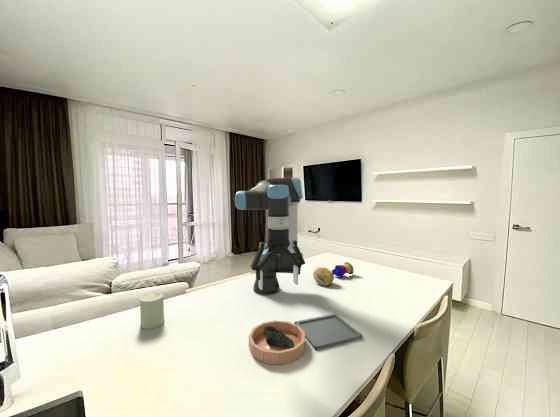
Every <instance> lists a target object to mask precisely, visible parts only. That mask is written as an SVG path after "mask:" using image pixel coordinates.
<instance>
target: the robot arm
mask: <svg viewBox="0 0 560 417" xmlns="http://www.w3.org/2000/svg"><path fill="white" fill-rule="evenodd" d="M302 199H303V187H302V182H301V179H300V178H299V177H271V178H267V179H264V180H261V181H259V182H257V184H256V186H254V187H252V188H250V189H249V190H238V191H237V192H236V193H235V195H234V205H235V208H236V209H238V210H244V211H247V210H248V211H249V210H250V211H251V210H253V211H254V210H259V211H260V210H261V211H262V210H264V211H265V210H266V211H267V227H268V229H267V242H262V241H259V243H258V249H257V252H256V253H255V256H254V257H253V259H252V262H251V264H250V270H252V271H255V281H254V283H253V286H252V288H253V292H254V293H255V294H258V295H264V296H265V295H267V296H268V295H273V294H277V293H278V292H280V283H279V281H278V278H277V273H278V274H291V275H292V274H293V277H292V279H293V283H294V285H297V286H298V285H299V276H300V275H301V271H302V270H301V269H302V267H303V265H305V264H306V261H305V258H304V256H303V255H304V254H303V252H301V249H300V248H299V247H298V205H299V204H300V203H301V200H302ZM266 248H267V249H266Z"/></svg>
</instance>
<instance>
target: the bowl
mask: <svg viewBox="0 0 560 417" xmlns="http://www.w3.org/2000/svg"><path fill="white" fill-rule="evenodd" d="M265 326H272V327H274V328H276V330H278V331H282V332H283V333H284V334H285V335H286V336H287V337H289V338H290V339H292V341H293V343H294V345H295V347H293V348H290V349H288V348H286V347H278V346H272V345H268V344H267V342H266V337H265V335H264V333H263V332H264V328H265ZM305 346H306V338H305V333H304V331H303V330H302V329H301V328H300V327H299V326H298V325H295V324H294V323H293V322H290V321H287V320H277V319H276V320H271V321H265V322H261V323H259V324H258V325H256V326H254V327H253V328H252V329H251V331H250V333H249V335H248V348H249V352H250V354H251V356H252V357H253V358H255V360H257V361H259V362H261V363H263V364H266V365H276V366H278V365H279V366H280V365H287V364H290V363H293V362H295V361H297V360H298V359H299V358H301V357H302V355H303V354H304V352H305ZM296 359H297V360H296Z"/></svg>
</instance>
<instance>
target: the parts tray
mask: <svg viewBox="0 0 560 417" xmlns="http://www.w3.org/2000/svg"><path fill="white" fill-rule="evenodd" d="M293 324H295V325H298V326H299V327H300V328H301V329H302V330H303V331H304V333H305V340H306V341H307V342H308V343H309V345H310V346H311V347H312V348H313V349H314V351H319V350H321V349H326V348H330V347H333V346H338V345H341V344H345V343H349V342H353V341H354V342H355V341H357V340H361V339H363V334H362V333H360V332H359V331H358V330H357V329H356V328H354V327H353V326H351V324H349V323H348V322H347V321H346V320H344V319H343V318H342V317H340V316H339V315H338V314H337V313H331V314H326V315H321V316H317V317H312V318H311V317H310V318H307V319H302V320H297V321H294V323H293Z"/></svg>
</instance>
